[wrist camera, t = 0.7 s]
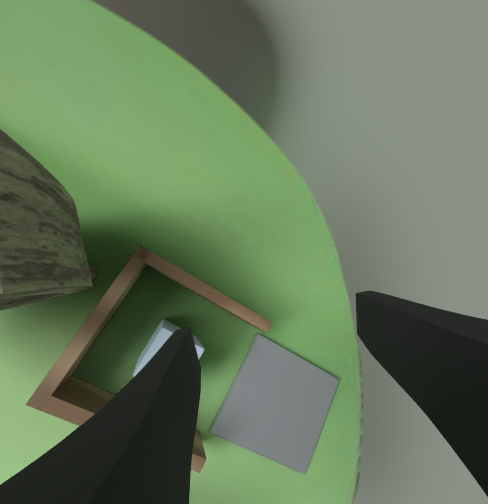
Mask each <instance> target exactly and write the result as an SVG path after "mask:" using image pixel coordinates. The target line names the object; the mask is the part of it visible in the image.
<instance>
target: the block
mask: <svg viewBox="0 0 488 504" xmlns="http://www.w3.org/2000/svg"><path fill="white" fill-rule="evenodd" d="M179 329H182V328H180V327H178V326H176V325H174V324H172V323H170V322H169V321H167V320H165V319H162V320H161V322H160V324H159V325H158V327H157V328H156V330H155V332H154V333H153V335H152V337H151V338H150V340H149V341H148V343H147V345H146V346H145V348H144V349H143V351H142V353H141V354H140V356H139V359H138V362H137V365H136V368H135V370H134V373H133V376H134V377H135V375H136V374H137V373H138V372H139V371H140V370H141V369H142V368H143V367H144V366H145V365H146V364H147V363H148V362H149V360H150V359H151V358H152V357H153V356H154V355H155V354H156V352H157V351H158V350H159V349H160V348H161V347H162V345H163V344H164V343H165V342H166V341H167V339H168V338H169V337H170V336H171V335H172V334H173V333H174V331H175V330H179ZM192 335H193V334H192ZM193 339H194V343H195V347H196V351H197V355H198V359H200V357H201V355H202V353H203V351H204V350H205V349H204V347H203V346H202V344H201V343H200V341H199V340H198V338H197V336H195V335H193Z"/></svg>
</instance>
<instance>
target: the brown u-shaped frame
mask: <svg viewBox="0 0 488 504" xmlns="http://www.w3.org/2000/svg"><path fill="white" fill-rule="evenodd" d="M146 266H149V267H151V268H152V269H154V270H156V271H158V272H159V273H161V274H163V275H165V276H166V277H168V278H170V279H172V280H173V281H175V282H177V283H178V284H180V285H182V286H184V287H185V288H187V289H189V290H191V291H192V292H194V293H196V294H198V295H199V296H201V297H203V298H205V299H206V300H208V301H210V302H212V303H213V304H215V305H217V306H219V307H220V308H222V309H224V310H226V311H227V312H229V313H231V314H232V315H234V316H236V317H238V318H239V319H241V320H243V321H245V322H246V323H248V324H250V325H252V326H254V327H256V328H258V329H260V330H262V331H264V332H267V331H268V329H269V327H270V325H271V322H270V321H268V320H266V319H264V318H263V317H261V316H259V315H258V314H256V313H254V312H253V311H251V310H249V309H248V308H246V307H244V306H242V305H241V304H239V303H237V302H236V301H234V300H232V299H231V298H229V297H227V296H225V295H224V294H222V293H220V292H219V291H217V290H215V289H214V288H212V287H210V286H209V285H207V284H205V283H203V282H202V281H200V280H198V279H197V278H195V277H193V276H192V275H190V274H188V273H187V272H185V271H183V270H181V269H180V268H178V267H176V266H175V265H173V264H171V263H170V262H168V261H166V260H164V259H163V258H161V257H159V256H158V255H156V254H154V253H153V252H151V251H149V250H148V249H146V248H144V247H142V246H141V245H140V246H139V247H138V249H137V250H136V251H135V253H134V254H133V256H132V257H131V258H130V260H129V261H128V263H127V264H126V265H125V267H124V268H123V270H122V271H121V272H120V274H119V275H118V277H117V278H116V279H115V281H114V282H113V284H112V285H111V286H110V288H109V289H108V291H107V292H106V293H105V295H104V296H103V297H102V299H101V300H100V302H99V303H98V304H97V306H96V307H95V309H94V310H93V311H92V313H91V314H90V316H89V317H88V318H87V320H86V321H85V323H84V324H83V325H82V327H81V328H80V330H79V331H78V332H77V334H76V335H75V336H74V338H73V339H72V341H71V342H70V343H69V345H68V346H67V348H66V349H65V350H64V352H63V353H62V355H61V356H60V357H59V359H58V360H57V362H56V363H55V364H54V366H53V367H52V369H51V370H50V371H49V373H48V374H47V375H46V377H45V378H44V380H43V381H42V382H41V384H40V385H39V387H38V388H37V389H36V391H35V392H34V394H33V395H32V396H31V398H30V399H29V401H28V402H27V403H26V405H28V406H30V407H33V408H35V409H38V410H40V411H43V412H45V413H48V414H50V415H53V416H56V417H58V418H61V419H63V420H66V421H68V422H71V423H73V424H76V425H79V426H81V425H82V424H83V423H84V422H86V421H87V420H88V419H89V418H91V417H92V416H93V415H94V414H95V413H97V412H98V411H99V410H100V409H101V408H102V407H103V406H105V405H106V404H107V403H108V402H109V401H110V400H111V399H112V398H113V397H114V396H116V395H114V394H112V393H109V392H107V391H105V390H102V389H100V388H98V387H96V386H93V385H91V384H89V383H86V382H84V381H82V380H79V379H77V378H75V377H72V376H71V375H72V374H73V372H74V371H75V369H76V368H77V366H78V365H79V363H80V362H81V361H82V359H83V358H84V356H85V355H86V353H87V352H88V350H89V349H90V347H91V346H92V345H93V343H94V342H95V340H96V339H97V337H98V336H99V334H100V333H101V331H102V330H103V329H104V327H105V326H106V324H107V323H108V321H109V320H110V318H111V317H112V315H113V314H114V313H115V311H116V310H117V308H118V307H119V305H120V304H121V302H122V301H123V299H124V298H125V297H126V295H127V294H128V292H129V291H130V289H131V288H132V286H133V285H134V284H135V282H136V281H137V279H138V278H139V276H140V275H141V273H142V272H143V270H144V269H145V268H146ZM205 461H206V456H205V452H204V448H203V444H202V440H201V436H200V432H199V431H197V430H195V438H194V445H193V452H192V461H191V470H193V471H196V472H198V473H200V471H201V469H202V467H203V465H204V463H205Z"/></svg>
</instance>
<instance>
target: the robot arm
mask: <svg viewBox="0 0 488 504" xmlns="http://www.w3.org/2000/svg"><path fill="white" fill-rule="evenodd" d="M356 314H357V334H358V336H359V337H360V339H361V340H362V342H363V343H364V344H365V346H366V347H367V349H368V350H369V352H370V353H371V354H372V355H373V357H374V358H375V359H376V360H377V361H378V362H379V363H380V364H381V365H382V366H383V368H384V369H385V370H386V371H387V372H388V373H389V374H390V375H391V376H392V377H393V378H394V379H395V381H396V382H397V383H398V384H399V385H400V386H401V387H402V388H403V389H404V390H405V391H406V393H408V395H409V396H410V397H411V398H412V399H413V400H414V401H415V402H416V403H417V405H418V406H419V407H420V408H421V409H422V410H423V412H424V413H425V414H426V415H427V416H428V417H429V418H430V420H431V421H432V423H433V424H434V425H435V426H436V428H437V429H438V430H439V432H440V433H441V434H442V435H443V437H444V438H445V439H446V441H447V442H448V443H449V444H450V445H451V447H452V448H453V450H454V451H455V453H456V454H457V455H458V457H459V458H460V459H461V460H462V462H463V463H464V465H465V466H466V467H467V469H468V470H469V471H470V473H471V474H472V475H473V477H474V478H475V479H476V481H477V482H478V484H479V485H480V486H481V488H482V489H483V491H484V492H485V493H486V495H487V496H488V320H486V319H480V318H475V317H471V316H467V315H462V314H458V313H454V312H450V311H445V310H441V309H438V308H434V307H430V306H426V305H423V304H419V303H415V302H412V301H408V300H405V299H401V298H398V297H394V296H390V295H387V294H383V293H379V292H374V291H365V292H360V293H356ZM200 392H201V366H200V362H199V359H198V355H197V351H196V347H195V343H194V339H193V335H192V331H191V327H188V328H183V329H179V330H175V331H174V333H173V334H172V335H171V336H170V337H169V338H168V339H167V341H166V342H165V343H164V344H163V345H162V347H161V348H160V349H159V350H158V351H157V352H156V354H155V355H154V356H153V357H152V358H151V359H150V360H149V362H148V363H147V364H146V365H145V366H144V367H143V368H142V369H141V370H140V371H139V372H138V373H137V374H136V375H135V377H134V378H133V379H132V380H131V381H130V382H129V383H128V384H127V385H126V386H125V387H124V388H123V389H122V390H121V391H120V392H119V393H118V394H117V395H116V396H114V397H113V398H112V399H111V400H110V401H109V402H108V403H107V404H106V405H105V406H103V407H102V408H101V409H100V410H99V411H98V412H97V413H95V414H94V415H93V416H92V417H91V418H89V419H88V420H87V421H86V422H84V423H83V424H82V425H81V426H79V427H78V428H77V429H76V430H75V431H73V432H72V433H71V434H70V435H68V436H67V437H66V438H65V439H63V440H62V441H61V442H59V443H58V444H57V445H56V446H54V447H53V448H51V449H50V450H49V451H47V452H46V453H45V454H43V455H42V456H41V457H39V458H38V459H37V460H35V461H34V462H32V463H31V464H30V465H28V466H27V467H25V468H24V469H22V470H21V471H20V472H18V473H17V474H15V475H14V476H13V477H11V478H10V479H8V480H7V481H5V482H4V483H2V484H1V485H0V504H189V491H190V472H191V461H192V452H193V445H194V438H195V430H196V423H197V416H198V408H199V400H200Z"/></svg>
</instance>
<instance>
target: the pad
mask: <svg viewBox="0 0 488 504" xmlns="http://www.w3.org/2000/svg"><path fill="white" fill-rule="evenodd" d="M338 383H339V379H337V378H335V377H333V376H332V375H330V374H328V373H326V372H324V371H323V370H321V369H319V368H317V367H316V366H314V365H312V364H310V363H309V362H307V361H305V360H303V359H302V358H300V357H298V356H296V355H295V354H293V353H291V352H289V351H288V350H286V349H284V348H282V347H281V346H279V345H277V344H275V343H274V342H272V341H270V340H268V339H266V338H265V337H263V336H261V335H259V334H258V333H257V334H256V336H255V338H254V340H253V342H252V344H251V346H250V348H249V350H248V352H247V354H246V356H245V358H244V361H243V363H242V365H241V367H240V369H239V371H238V373H237V375H236V377H235V379H234V381H233V383H232V385H231V387H230V389H229V391H228V393H227V395H226V397H225V399H224V401H223V403H222V405H221V407H220V409H219V412H218V414H217V416H216V418H215V420H214V422H213V424H212V426H211V428H210V430H209V431H210V433H211V434H214V435H216V436H218V437H221V438H223V439H225V440H227V441H230V442H232V443H234V444H237V445H239V446H241V447H243V448H246V449H248V450H250V451H253V452H255V453H257V454H259V455H262V456H264V457H266V458H269V459H271V460H273V461H275V462H278V463H280V464H282V465H285V466H287V467H289V468H291V469H294V470H296V471H298V472H301V473H303V474H305V473H306V470H307V468H308V465H309V462H310V459H311V457H312V454H313V451H314V448H315V446H316V443H317V440H318V437H319V435H320V432H321V429H322V426H323V424H324V421H325V418H326V416H327V413H328V410H329V407H330V405H331V402H332V399H333V396H334V394H335V391H336V388H337V385H338Z"/></svg>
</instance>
